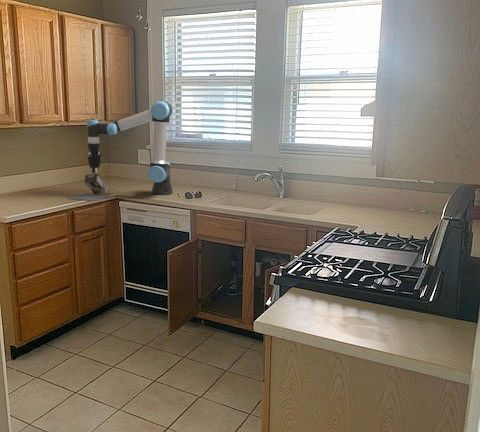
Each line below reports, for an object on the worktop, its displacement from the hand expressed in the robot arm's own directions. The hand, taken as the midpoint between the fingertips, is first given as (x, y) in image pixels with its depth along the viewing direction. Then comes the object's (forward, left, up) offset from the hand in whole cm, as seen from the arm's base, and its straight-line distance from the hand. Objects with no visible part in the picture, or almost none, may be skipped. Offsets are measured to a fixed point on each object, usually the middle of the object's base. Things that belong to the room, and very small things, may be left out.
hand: (95, 177), depth 329 cm
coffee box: (0, -5, -10) cm, 11 cm away
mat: (0, +8, -13) cm, 15 cm away
